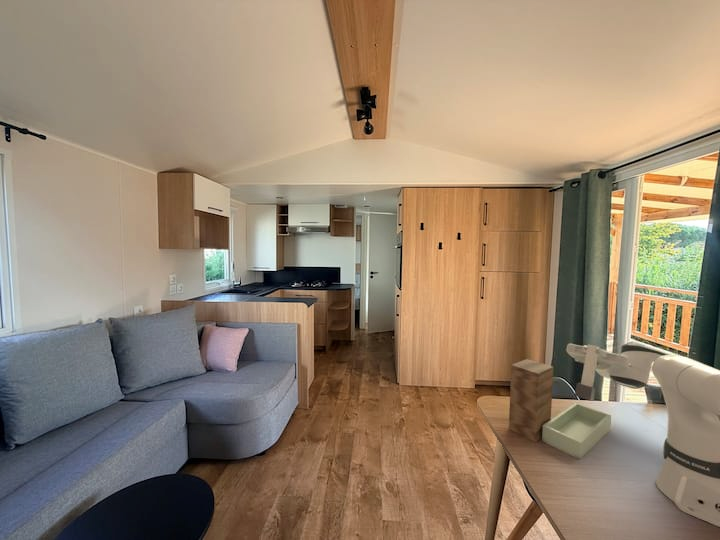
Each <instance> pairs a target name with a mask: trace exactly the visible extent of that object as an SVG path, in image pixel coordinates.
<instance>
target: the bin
mask: <svg viewBox="0 0 720 540" xmlns="http://www.w3.org/2000/svg"><path fill="white" fill-rule="evenodd" d="M611 425H612V415H611V414H608V413H606V412H602V411H600V410H597V409H594V408H592V407H589V406H586V405H584V404H580V403H578V402H574V403H573V404H571V405H570V406H569V407H567V408H566V409H564V410H562V412H559V414H557V415H556V416H554V417H553V418H551V420H550V421H548V422H547V423H546V424H544V425H543V431H542V438H541V441H542V443H543V442H544V443H545V444H548V445H549V446H551V447H553V448H555V449H557V450H559V451H562V452H563V453H565V454H567V455H569V456H571V457H574V458H575V459H578V460H579V461H581V460H582V459H581V458H582V457H583V458H584V457H585V456H586V455H588V453H590V451H591V450H592V449H593V448H594V447H595V446H596V445H597V444H598V443H599V442H600V441H602V439H603V438H604V437H605V436H606V435H607V434H608V433H610V432H611V429H612V428H611ZM580 459H581V460H580Z"/></svg>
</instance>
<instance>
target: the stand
mask: <svg viewBox="0 0 720 540" xmlns="http://www.w3.org/2000/svg"><path fill="white" fill-rule="evenodd" d="M510 367H511V368H510V392H509V412H508V413H509V414H508V415H509V416H508V417H509V418H508V430H511V431H512V432H514V433H516V434H518V435H520V436H522V437H524V438H525V439H528V440H530V441H532V442H534V443H537V442H539V440H542V431H543V425H544V424H546V423H547V422H548V421H550V420H551V419H552V400H553V384H554V366H552V365H548V364H546V363H542V362H539V361H535V360H532V359H528V358H525V359H523V360H520V361H518V362H516V363H512V364H511V366H510Z"/></svg>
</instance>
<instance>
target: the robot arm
mask: <svg viewBox="0 0 720 540" xmlns="http://www.w3.org/2000/svg"><path fill="white" fill-rule="evenodd" d="M587 346H588V345H578V344H574V343H568V344H567V345H566V349H565V351H566V352H567V354H568V355H569V356H571V358H574V361H575V362H578V363H580V364H583V365H584V363H585V358H586V352H587ZM596 354H598V359H597V364H596V370H595V372H597V374H598V375H600V376H602V377H604V378H606V379H609V380H612V382H614V383H616V384H617V385H620V386H623V387H626V388H629V389H633V390H634V389H635V390H636V389H637V390H638V389H642V388H645V387H647V386H648V383H649V378H650V373H651V371H652V375H654V377H655V378H656V381H657V382H658V384H659V386H660V389H661V390H662V392H663V395H664V399H665V403H664V404H665V407H666V411H667V430H666V431H667V432H666V433H667V434H666V438H665V439H664V443H663V447H662V448H663V449H662V455H663V463H662V467H661V470H660V472H659V474H658V476H657V477H656V479H655V484H656V486H657V488H658V489H659V491H660V492H661V493H663V494H664V495H665V496H666V497H667V498H668V499H670V500H671V501H672V502H673V503H674V504H675V506H676V507H677V508H678V509H679V510H681V512H683V513H685V514H688V515H690V516H693V517H695V518H697V519H699V520H702V521H705V522H706V523H709V524H711V525H714V526H716V527H719V528H720V419H719V417H718V416H720V369H717V368H714V367H712V366H710V365H707V364H704V363H702V362H701V361H698V360H695V359H692V358H689V357H686V356H682V355H676V354H671V353H670V354H669V353H666V352H664V351H661V350H658V349H655V348H653V347H650V346H648V345H645V344H642V343H641V342H636V341H629V342H627V343H625V344H623V345H621V347H620V354H618V353H614V352H610V351H608V350H606V349H603V348H599V349H596Z"/></svg>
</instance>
